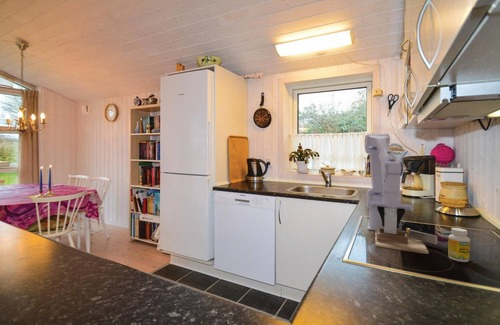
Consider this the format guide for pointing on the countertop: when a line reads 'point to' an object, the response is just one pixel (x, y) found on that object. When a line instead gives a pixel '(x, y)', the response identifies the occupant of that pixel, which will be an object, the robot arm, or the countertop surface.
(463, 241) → the supplement bottle
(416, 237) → the gate
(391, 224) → the link block
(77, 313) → the countertop surface
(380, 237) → the cradle board
